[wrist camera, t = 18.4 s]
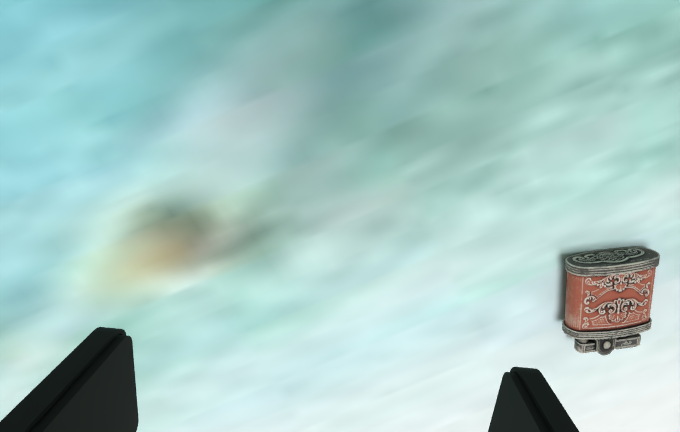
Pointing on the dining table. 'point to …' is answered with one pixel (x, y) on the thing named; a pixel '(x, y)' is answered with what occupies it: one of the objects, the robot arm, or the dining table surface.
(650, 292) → the lighter
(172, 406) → the dining table surface
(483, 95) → the dining table surface
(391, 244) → the dining table surface
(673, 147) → the dining table surface
